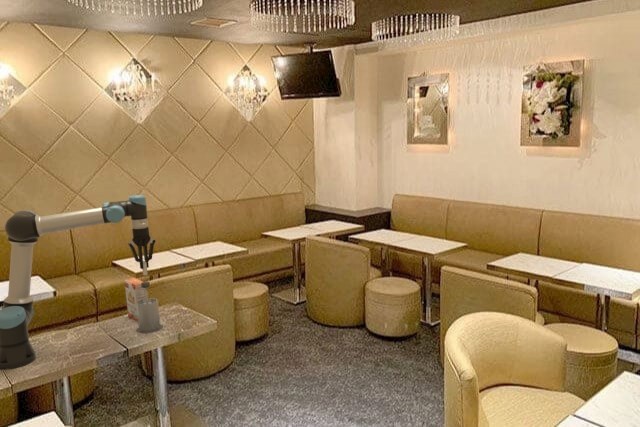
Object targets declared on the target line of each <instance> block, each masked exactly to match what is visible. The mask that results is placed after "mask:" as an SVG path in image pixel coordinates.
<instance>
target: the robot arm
mask: <svg viewBox="0 0 640 427" xmlns="http://www.w3.org/2000/svg"><path fill="white" fill-rule="evenodd" d="M126 217H130V221H131V228H132V229H131V230H132V241H131V242H128V243H127V245H128V246H129V248H130V249H131V253H132V255H133V258H134V261H135V262H137V263H139V268H140V269H141V270H142V275H143V276H148V275H149V274H148V269H149V267H150V266H149V265H150V264H149V262H150V261H151V260H152V259H153V256H154V255H153V253H154V246H155V244H156V242H157V241H156V239H154V238H151V236H150V228H149V221H148V220H149V219H148V208H147V200H146V196H144V195H143V194H142V195H141V194H138V195H137V194H136V195H130V196H128V200H123V201H119V200H118V201H109V202H103V204H102V206H100V207H99V206H98V207H94V208H93V207H92V208H88V209H80V210H74V211H67V212H62V213H56V214H50V215H44V216H43V215H42V216H40V215H38V214H36V213H34V212H33V211H31V210H21V211H17V212H15V213H14V214H12V215H11V216H10V217H9V218H8V219H7V221H6V222H5V225H4V230H5V233H6V235H7V237H8V238H7V241H8V242H9V243H10V244H11V248H10V250H11V251H10V262H9V263H10V265H9V266H10V267H9V278H8V292H7V293H8V294H7V296H6V297H5V298H4V299H3V305H2V306H3V308H2V309H0V369H1V370H9V369H16V368H19V367H23V366H26V365H29V364H30V363H33V361H35V360H36V358H37V355H36V351H35V349H34V348H33V345H32V344H31V342H30V338H29V329H28V326H29V324H30V322H31V320H32V319H33V317H34V314H35V313H34V312H35V311H34V307H33V306H34V298H33V297H32V296H31V295H30V294H31V284H32V282H31V281H32V271H33V269H32V268H33V256H34V254H33V253H34V245H36V243H38V240H39V238H40V237H43V235H44V234H45V235H46V234H52V233H57V232H64V231H67V230H68V231H69V230H73V229H74V230H75V229H80V228H85V227H90V226H91V227H93V226H96V225H101V224H102V225H104V224H109V223H114V224H118V223H120V222H122V221H123V219H124V218H126ZM135 245H136V246H137V251H136V249H135ZM148 245H149V247H148ZM137 253H138V254H137ZM143 257H144V258H143Z"/></svg>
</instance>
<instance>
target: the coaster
mask: <svg viewBox="0 0 640 427" xmlns="http://www.w3.org/2000/svg"><path fill="white" fill-rule="evenodd" d="M163 328H164V325H163V324H161V323H160V328H159V329H158V330H156V331H152V332H140V331H139V326H138V327H137V328H136V330H135V332H136V333H138V334H145V335H146V334H152V333H156V332H159V331H161V330H162V329H163Z"/></svg>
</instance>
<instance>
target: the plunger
mask: <svg viewBox="0 0 640 427" xmlns="http://www.w3.org/2000/svg"><path fill="white" fill-rule="evenodd" d="M141 287H142V288H145V296H146V303H143V304H149V303H153V302H148V298H149V296H148V288H150V287H151V285H150V281H142V283H141Z"/></svg>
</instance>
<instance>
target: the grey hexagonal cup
mask: <svg viewBox="0 0 640 427" xmlns="http://www.w3.org/2000/svg"><path fill="white" fill-rule="evenodd" d="M148 302H153V303H149V304H143V303H146V299H142V300H139V301H137V303H136V305H137V316H138V321H137V324H138V327H139V331H140V332H152V331H156V330H158V329H159V328H160V324H161V320H160V311H159V300H158V299H157V298H156V297H155V298H153V297H148Z"/></svg>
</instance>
